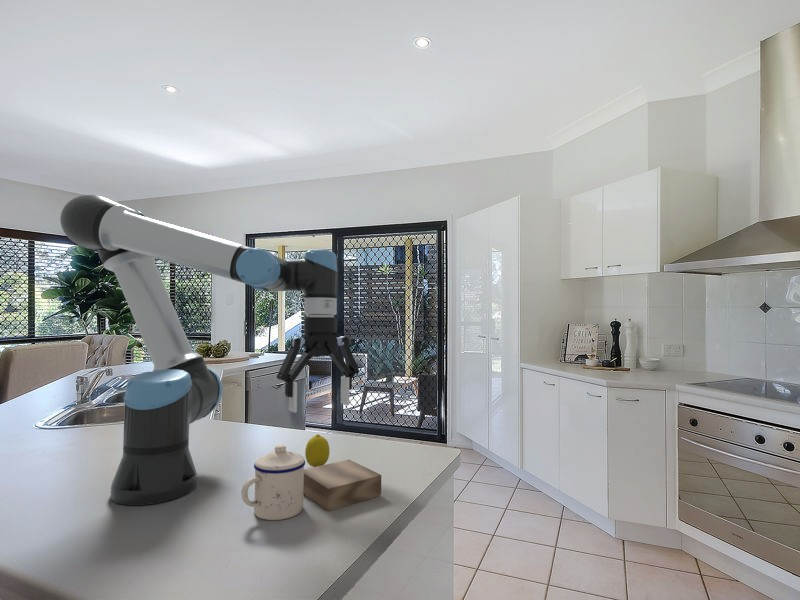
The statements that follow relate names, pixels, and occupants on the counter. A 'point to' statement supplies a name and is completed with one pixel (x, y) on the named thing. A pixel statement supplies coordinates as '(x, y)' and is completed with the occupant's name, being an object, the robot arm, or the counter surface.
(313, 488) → the walnut plinth
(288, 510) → the teacup with lid
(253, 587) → the counter surface
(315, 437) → the lemon
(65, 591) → the counter surface
